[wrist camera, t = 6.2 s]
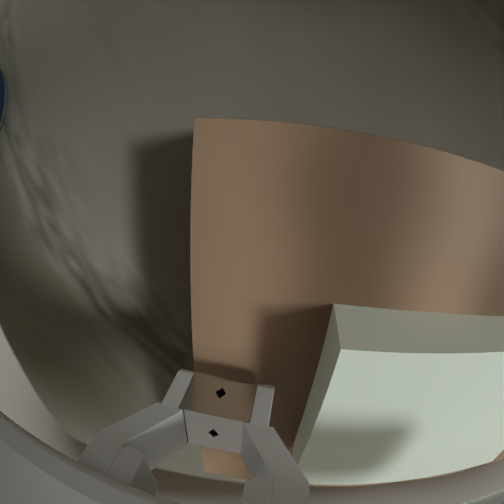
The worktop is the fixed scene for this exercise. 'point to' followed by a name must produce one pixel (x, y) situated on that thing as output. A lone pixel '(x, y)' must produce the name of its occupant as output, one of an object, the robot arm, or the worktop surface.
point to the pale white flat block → (403, 397)
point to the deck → (326, 249)
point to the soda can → (2, 96)
